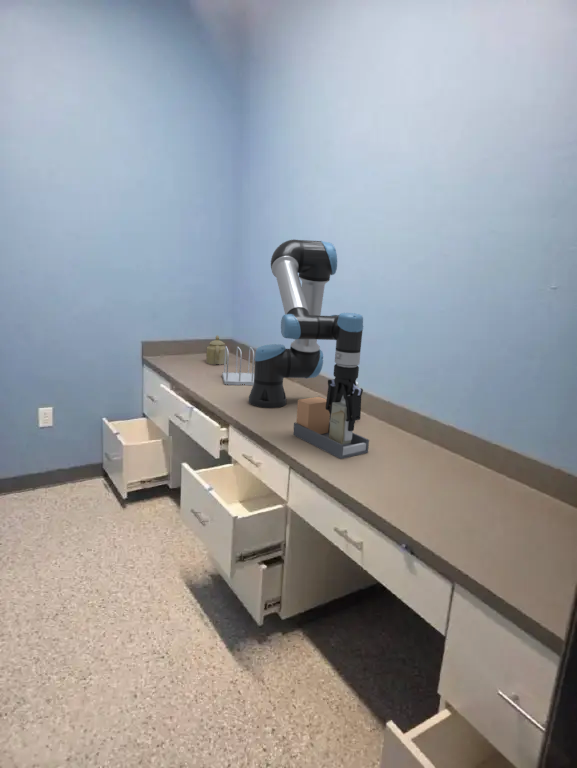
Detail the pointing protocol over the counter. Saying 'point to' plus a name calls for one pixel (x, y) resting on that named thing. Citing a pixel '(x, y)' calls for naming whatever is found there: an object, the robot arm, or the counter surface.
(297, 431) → the tray
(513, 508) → the counter surface
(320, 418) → the block
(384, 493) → the counter surface
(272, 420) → the counter surface
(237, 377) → the file sorter
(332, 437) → the skincare box
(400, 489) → the counter surface
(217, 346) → the sugar bowl
